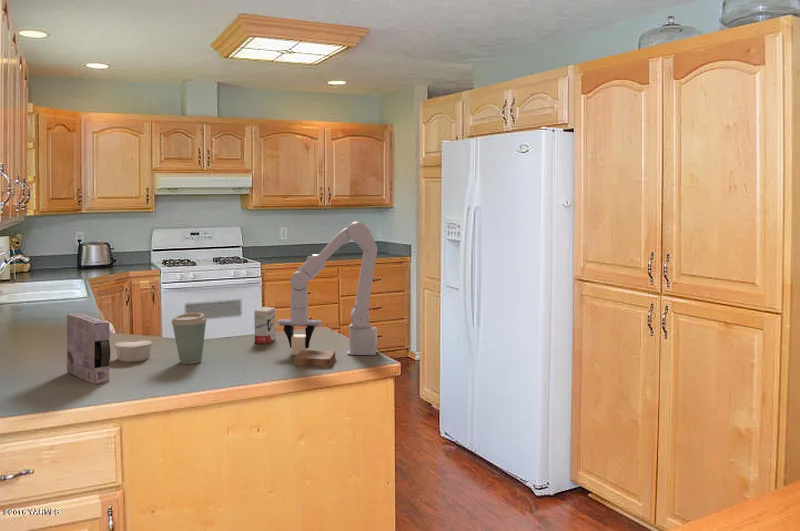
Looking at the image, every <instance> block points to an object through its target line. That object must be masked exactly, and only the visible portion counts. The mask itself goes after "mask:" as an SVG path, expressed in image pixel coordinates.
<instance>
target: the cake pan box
mask: <svg viewBox="0 0 800 531" xmlns="http://www.w3.org/2000/svg"><path fill="white" fill-rule="evenodd" d="M110 363H111V344H110V322H109V321H105V320H102V319H99V318H97V317H93V316H90V315H88V314H85V313H82V312H79V313H67V314H66V373H67V374H70V375H72V376H74V377H76V378H77V379H79V380H80V379H81V380H82V381H86V382H88V383H90V384H92V385H94V386H95V385H101V384H106V382H107V383H110Z"/></svg>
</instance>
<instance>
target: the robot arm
mask: <svg viewBox="0 0 800 531" xmlns="http://www.w3.org/2000/svg"><path fill="white" fill-rule="evenodd" d="M351 241H352V242H354V243H356V244H357V245H358V246H359V247H360V249H361V250H362V259H361V266H360V270H359V277H358V284H357V289H356V290H357V291H356V296H355V301H354V305H353V307H352V308H351V310H350V321H351V323H350V324H348V325H349V329H348V330H349V332H348V334H349V336H348V337H349V338H348V340H349V343H348V345H349V346H348V347H349V348H348V350H347V351H346V355H351V356H352V355H353V356H354V355H355V356H376V353H377V351H378V328H377V327H376V326H372V325H371V323H370V321H371V315H370V313H369V312H370V311H369V309H370V299H371V293H372V287H373V286H372V285H373V282H374V281H373V280H374V274H375V266H376V262H377V256H378V245H377V243H376V241H375V239H374V237H373V234H372V233H371V231H370V230H369V228H368V227H367V225H365V224H364V222H362V221H358V220H356V221H353V222H351V223H350V224H349V225H348V226H346V227H345V228H343V229H342V230H341V231H339V232H338V233H337V234H336V235H335V236H334V237H333V239H332V240H331V241H329V242H328V244H326V246H325V247H324V248H322V250H321V251H320V253H318V254H316V253H315V254H311V255H308V256H307V257H306V261H304V263H303V264H302V265H301V266H297V268H296V271H295V272H293V273H292V275H291V276H290V279H289V284H290V286H291V287H290V292H291V293H290V318H287V319H286V318H285V319H278V320H277V323H276V325H277V327H283V328H282V329H283V332H284V333H285V335H286V337H287V340H288V343H289V349H291V337H292V336H293V335H294V329H295V328H294V327H305V328H304V330H305V335H306V348H307V349H309V348H310V342H311V339H312V336H313V334H314V331H315V328H321V327H322V320H319V319H309V294H308V285H309V281H312V280H313V279H314V278H315V277H317V275H319V273H320V272H321V271H322V270H323V269H324V268H326V261H327V260H328V259H329V258H330V257H331V256H332V255H333V254H334V253H335V252H336V251H338V249H339V248H340V247H342V246H343V245H346V244H351ZM372 350H373V351H372Z"/></svg>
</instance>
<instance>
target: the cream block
mask: <svg viewBox="0 0 800 531" xmlns="http://www.w3.org/2000/svg"><path fill="white" fill-rule="evenodd" d="M290 349H291V354H290V355H291V356H293V355H294V356H297V355H298V354H299V353H300V352H301V351H302V350H308V348H306V334H301V333H300V334H299V333H298V334H297V333H293V336H292V337H291V348H290Z"/></svg>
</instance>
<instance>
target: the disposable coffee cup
mask: <svg viewBox="0 0 800 531" xmlns="http://www.w3.org/2000/svg"><path fill="white" fill-rule="evenodd" d="M205 316H206V315H205V314H204V313H202V312H186V313H181V314H178V315H175V316H174V317H172V319H171V325H172V329H173V334H174V339H175V344H176V348H177V354H178V359H179V361H180V363H181V364H182V365H183V364H184V365H191V364H192V365H193V364H197V363H200V362H201V361H202V360H203V352H204V343H205V333H206V323H207V318H206V317H205Z"/></svg>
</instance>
